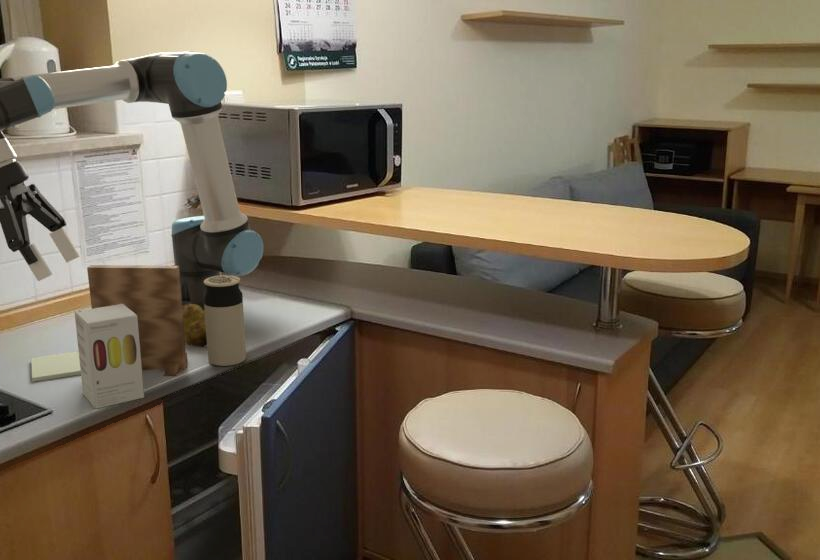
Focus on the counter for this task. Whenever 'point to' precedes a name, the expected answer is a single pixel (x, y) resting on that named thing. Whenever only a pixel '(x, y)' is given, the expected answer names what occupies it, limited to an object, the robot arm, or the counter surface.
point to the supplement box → (109, 355)
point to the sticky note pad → (55, 366)
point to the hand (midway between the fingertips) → (60, 268)
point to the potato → (194, 325)
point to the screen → (146, 309)
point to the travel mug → (224, 320)
